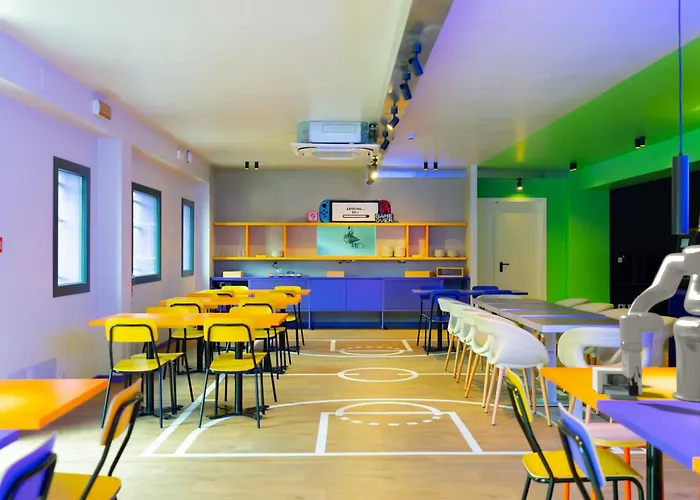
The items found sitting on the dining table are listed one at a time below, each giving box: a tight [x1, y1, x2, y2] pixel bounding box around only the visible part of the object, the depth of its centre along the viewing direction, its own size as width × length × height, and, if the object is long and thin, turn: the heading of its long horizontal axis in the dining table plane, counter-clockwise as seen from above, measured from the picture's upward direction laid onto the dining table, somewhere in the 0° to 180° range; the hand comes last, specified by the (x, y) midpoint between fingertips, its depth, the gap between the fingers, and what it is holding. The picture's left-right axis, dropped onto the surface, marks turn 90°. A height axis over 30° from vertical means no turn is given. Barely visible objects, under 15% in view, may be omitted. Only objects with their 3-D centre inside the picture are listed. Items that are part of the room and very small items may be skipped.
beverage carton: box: [603, 374, 628, 387], centre depth 259 cm, size 8×19×7 cm, turn 114°
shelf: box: [592, 366, 643, 395], centre depth 246 cm, size 17×8×9 cm, turn 81°
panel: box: [602, 386, 636, 401], centre depth 240 cm, size 9×16×2 cm, turn 171°
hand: (633, 395), depth 227 cm, fingers closed
